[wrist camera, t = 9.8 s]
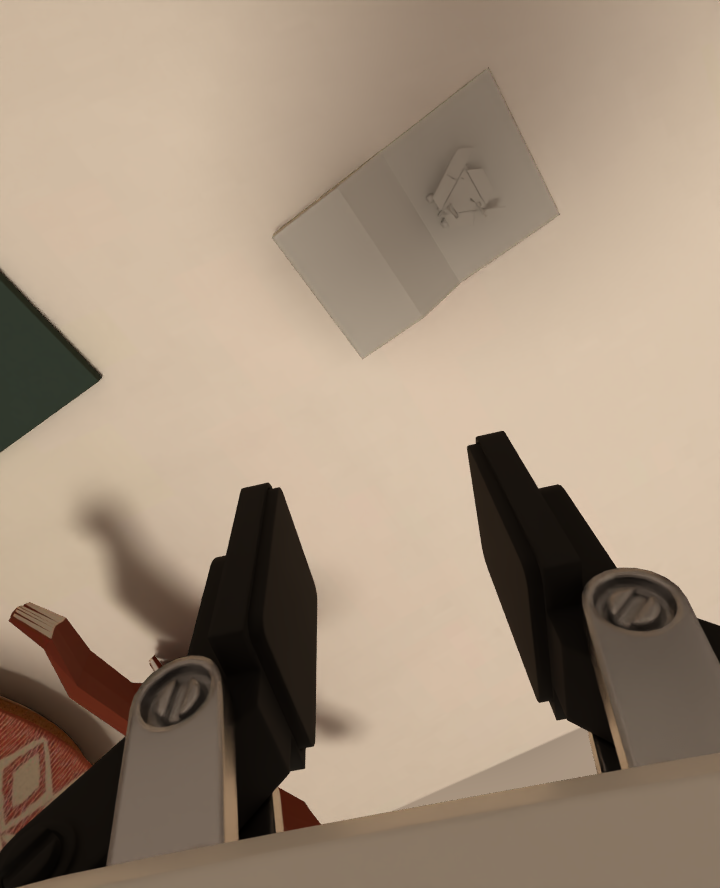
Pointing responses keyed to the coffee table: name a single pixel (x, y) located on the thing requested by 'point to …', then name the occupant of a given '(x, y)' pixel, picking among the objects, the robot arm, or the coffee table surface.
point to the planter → (32, 766)
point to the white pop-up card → (419, 217)
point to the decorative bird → (108, 685)
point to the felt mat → (34, 367)
